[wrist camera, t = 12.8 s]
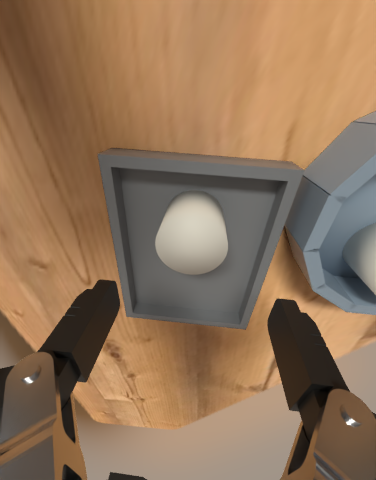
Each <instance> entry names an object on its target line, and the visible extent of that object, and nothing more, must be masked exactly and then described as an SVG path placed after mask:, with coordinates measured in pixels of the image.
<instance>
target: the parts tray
mask: <svg viewBox="0 0 376 480" xmlns="http://www.w3.org/2000/svg"><path fill="white" fill-rule="evenodd" d="M98 160H99V165H100V171H101V176H102V182H103V188H104V193H105V199H106V204H107V210H108V215H109V221H110V227H111V232H112V238H113V243H114V249H115V255H116V260H117V266H118V271H119V277H120V283H121V288H122V294H123V299H124V305H125V311H126V316H127V317H134V318H143V319H152V320H162V321H171V322H180V323H190V324H199V325H208V326H218V327H227V328H236V329H246V328H247V325H248V323H249V320H250V317H251V314H252V312H253V309H254V306H255V304H256V301H257V298H258V295H259V293H260V290H261V287H262V284H263V282H264V279H265V276H266V274H267V271H268V268H269V265H270V263H271V260H272V257H273V255H274V252H275V249H276V246H277V244H278V241H279V238H280V235H281V233H282V230H283V227H284V225H285V222H286V219H287V216H288V214H289V211H290V208H291V206H292V203H293V200H294V197H295V195H296V192H297V189H298V187H299V184H300V181H301V178H302V176H303V173H304V170H303V169H302V168H300V167H299V166H297V165H296V164H294V163H293V162H289V161H276V160H263V159H250V158H237V157H224V156H211V155H198V154H185V153H172V152H159V151H146V150H133V149H120V148H110V149H108V150H106V151H103V152H101V153H99V154H98ZM189 190H199V191H204V192H206V193H209V194H210V195H212V196H213V197H215V198H216V199H217V200H218V202H219V203H220V205H221V207H222V209H223V213H224V220H225V227H226V234H227V240H228V252H227V255H226V257H225V259H224V261H223V262H222V263H221V264H220V265H219V266H218V267H217V268H215V269H214V270H212V271H210V272H207V273H203V274H198V275H189V274H183V273H180V272H177V271H175V270H173V269H171V268H169V267H168V266H167V265H165V264H164V263H163V262H162V260H161V259H160V257H159V256H158V254H157V251H156V246H155V240H156V236H157V233H158V231H159V228H160V226H161V223H162V221H163V218H164V216H165V213H166V211H167V208H168V205H169V204H170V202H171V201H172V199H173V198H174V197H176V196H177V195H178V194H180V193H182V192H185V191H189Z"/></svg>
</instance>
